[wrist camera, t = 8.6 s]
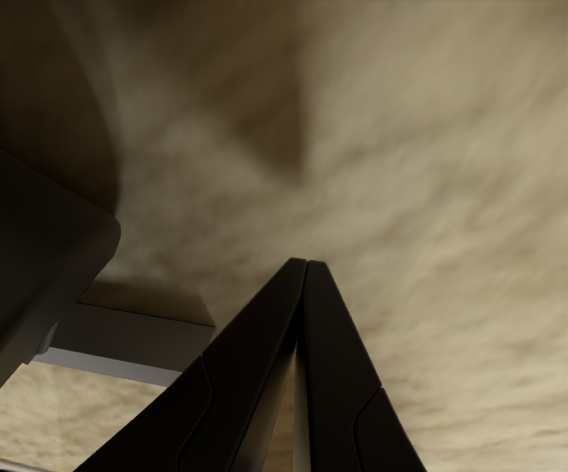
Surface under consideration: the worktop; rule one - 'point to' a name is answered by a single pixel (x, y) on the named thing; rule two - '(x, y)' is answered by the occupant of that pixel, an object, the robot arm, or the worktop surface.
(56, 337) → the frame
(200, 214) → the worktop surface
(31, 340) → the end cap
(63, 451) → the worktop surface
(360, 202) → the worktop surface
